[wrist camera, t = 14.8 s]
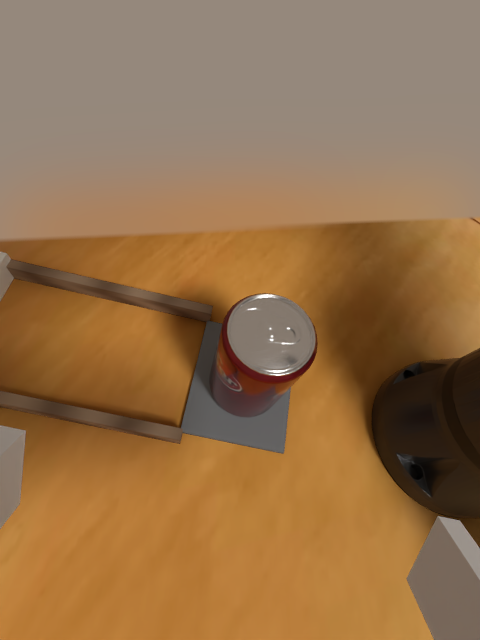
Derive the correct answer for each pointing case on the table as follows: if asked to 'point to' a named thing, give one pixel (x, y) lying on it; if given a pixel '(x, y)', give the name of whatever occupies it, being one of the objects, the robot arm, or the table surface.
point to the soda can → (260, 353)
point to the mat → (221, 425)
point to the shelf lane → (5, 270)
